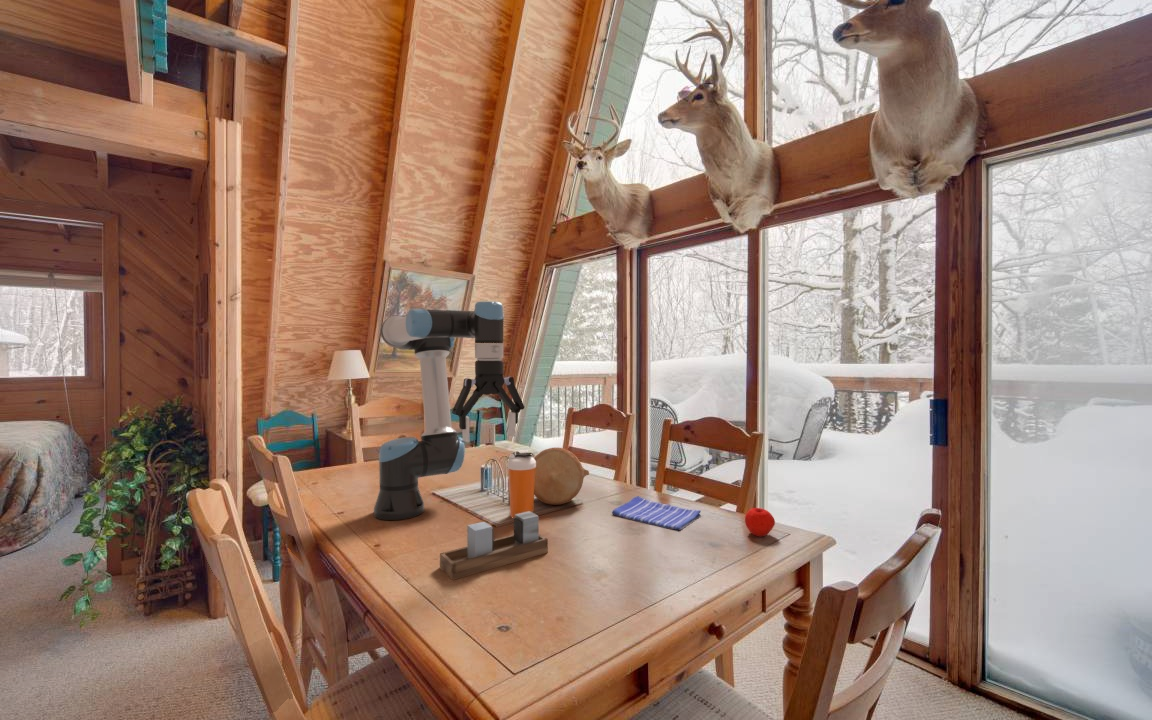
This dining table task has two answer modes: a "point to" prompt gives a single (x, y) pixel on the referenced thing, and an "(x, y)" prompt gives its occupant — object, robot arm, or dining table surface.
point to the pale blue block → (479, 539)
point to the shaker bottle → (521, 482)
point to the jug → (557, 476)
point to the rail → (499, 549)
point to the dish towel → (656, 513)
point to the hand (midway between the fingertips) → (489, 438)
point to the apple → (759, 521)
